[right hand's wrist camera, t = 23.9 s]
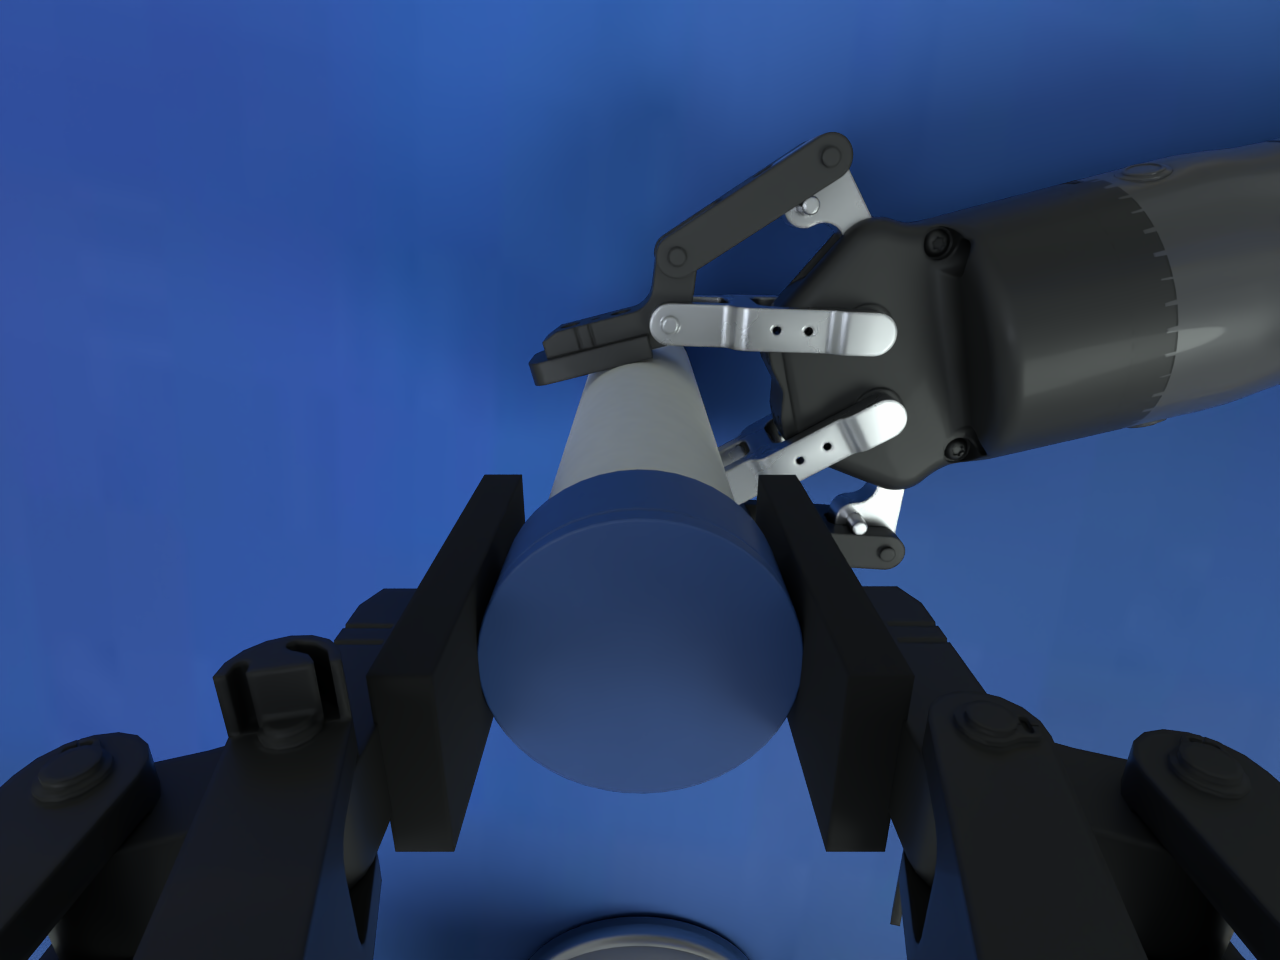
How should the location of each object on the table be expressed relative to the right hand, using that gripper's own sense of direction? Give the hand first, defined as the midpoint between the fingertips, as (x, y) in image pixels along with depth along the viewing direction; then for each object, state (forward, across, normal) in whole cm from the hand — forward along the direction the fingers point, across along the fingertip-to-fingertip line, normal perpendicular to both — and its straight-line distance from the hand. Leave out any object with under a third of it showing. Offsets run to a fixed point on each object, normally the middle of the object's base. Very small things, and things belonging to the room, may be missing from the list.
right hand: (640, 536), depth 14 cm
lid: (-4, 0, 0) cm, 4 cm away
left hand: (+9, -3, 0) cm, 9 cm away
